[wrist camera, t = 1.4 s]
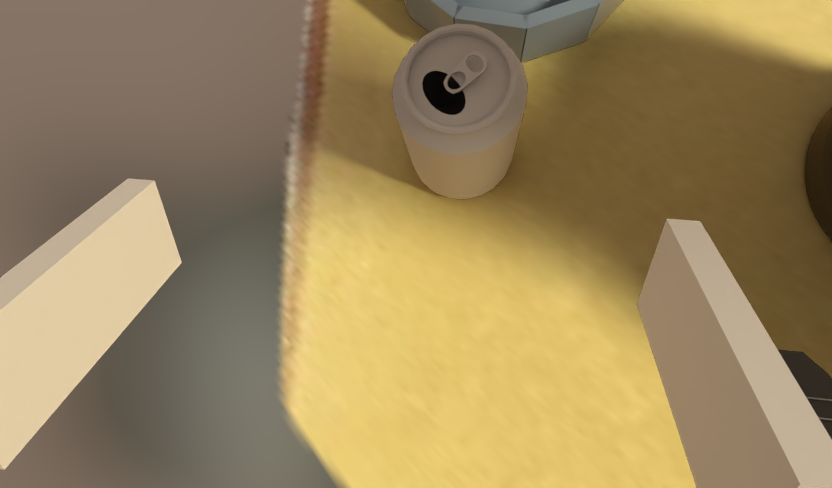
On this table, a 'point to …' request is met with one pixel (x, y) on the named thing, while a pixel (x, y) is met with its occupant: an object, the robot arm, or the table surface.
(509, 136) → the can
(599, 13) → the bowl
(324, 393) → the table surface
